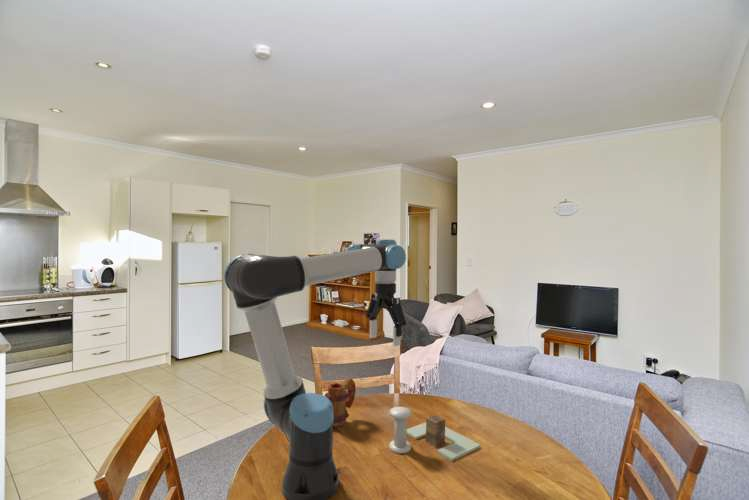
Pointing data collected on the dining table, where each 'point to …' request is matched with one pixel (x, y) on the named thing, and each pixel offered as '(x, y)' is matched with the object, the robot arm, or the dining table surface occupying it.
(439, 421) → the block
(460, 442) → the notched board
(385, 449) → the dining table surface
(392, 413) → the knob
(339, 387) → the mug
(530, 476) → the dining table surface
